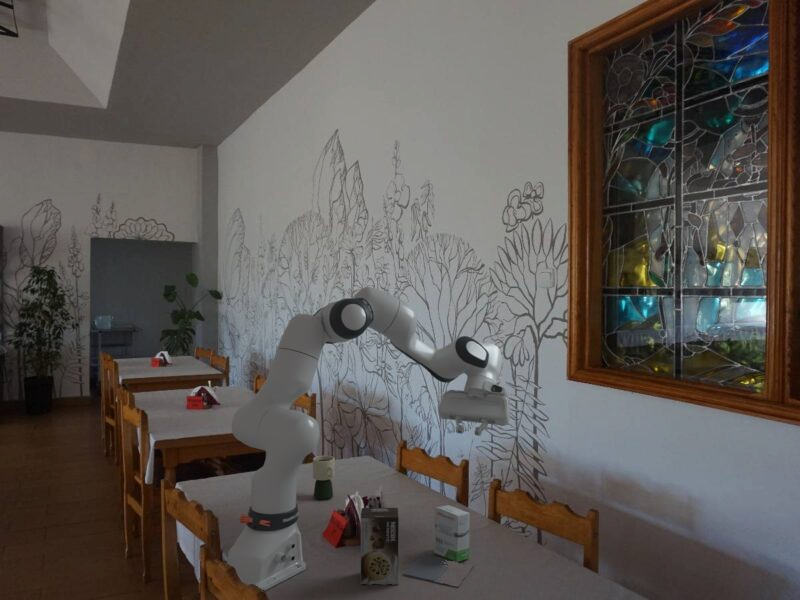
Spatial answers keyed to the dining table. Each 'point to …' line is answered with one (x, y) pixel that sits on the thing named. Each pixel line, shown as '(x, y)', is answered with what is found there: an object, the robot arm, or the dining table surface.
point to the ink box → (452, 533)
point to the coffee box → (379, 546)
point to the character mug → (323, 476)
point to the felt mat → (427, 568)
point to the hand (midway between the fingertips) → (468, 433)
